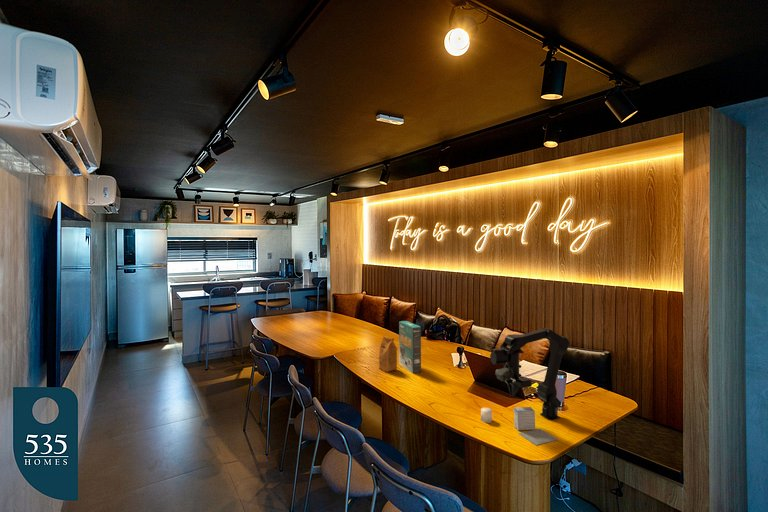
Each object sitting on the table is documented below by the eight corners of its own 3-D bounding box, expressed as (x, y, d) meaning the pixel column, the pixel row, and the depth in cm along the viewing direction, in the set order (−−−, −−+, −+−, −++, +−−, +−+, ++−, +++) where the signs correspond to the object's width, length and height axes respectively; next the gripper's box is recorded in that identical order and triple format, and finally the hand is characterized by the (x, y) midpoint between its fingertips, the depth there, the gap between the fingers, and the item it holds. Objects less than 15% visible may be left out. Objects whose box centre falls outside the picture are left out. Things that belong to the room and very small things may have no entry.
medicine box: (531, 425, 167) (530, 406, 167) (535, 430, 163) (535, 410, 163) (514, 426, 167) (513, 407, 167) (518, 430, 163) (517, 411, 163)
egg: (487, 417, 176) (487, 406, 176) (494, 421, 172) (494, 411, 172) (478, 418, 174) (478, 408, 174) (485, 423, 170) (485, 412, 170)
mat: (540, 429, 164) (540, 428, 164) (558, 440, 155) (558, 439, 155) (518, 434, 160) (518, 433, 160) (535, 445, 151) (535, 444, 151)
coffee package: (388, 365, 255) (388, 334, 255) (398, 370, 245) (398, 337, 244) (376, 367, 250) (376, 335, 250) (386, 373, 239) (386, 339, 239)
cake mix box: (420, 372, 241) (421, 326, 240) (412, 373, 239) (412, 327, 238) (406, 362, 261) (406, 320, 261) (399, 363, 259) (399, 321, 259)
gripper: (486, 358, 178) (486, 390, 178) (512, 370, 160) (512, 406, 161) (504, 356, 182) (504, 387, 182) (532, 367, 164) (532, 402, 165)
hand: (512, 395), depth 172 cm, fingers closed
